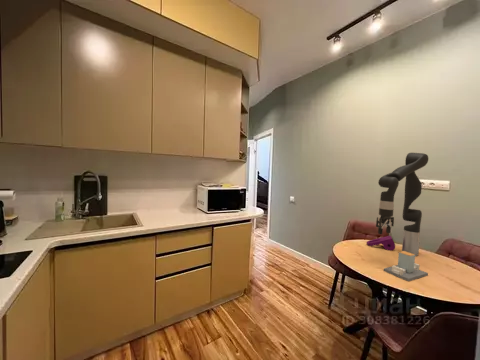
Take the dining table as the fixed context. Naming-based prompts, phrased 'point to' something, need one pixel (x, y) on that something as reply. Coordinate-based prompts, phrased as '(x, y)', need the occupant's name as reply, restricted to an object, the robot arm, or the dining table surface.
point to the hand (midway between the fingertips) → (384, 233)
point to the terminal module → (406, 261)
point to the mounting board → (403, 272)
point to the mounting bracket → (383, 242)
